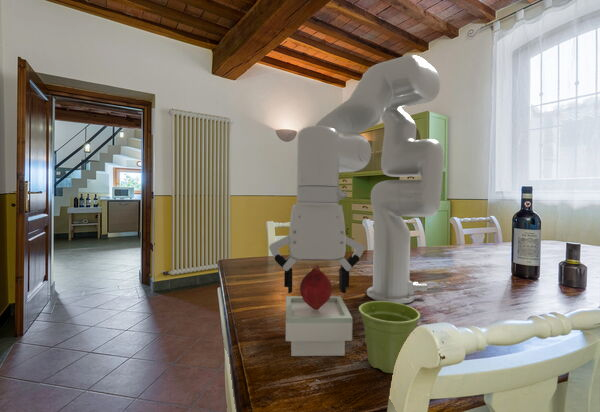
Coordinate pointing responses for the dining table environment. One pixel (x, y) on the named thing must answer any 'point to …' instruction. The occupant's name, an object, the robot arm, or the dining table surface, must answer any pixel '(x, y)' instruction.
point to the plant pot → (386, 331)
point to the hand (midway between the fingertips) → (316, 290)
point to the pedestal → (317, 327)
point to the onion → (315, 288)
